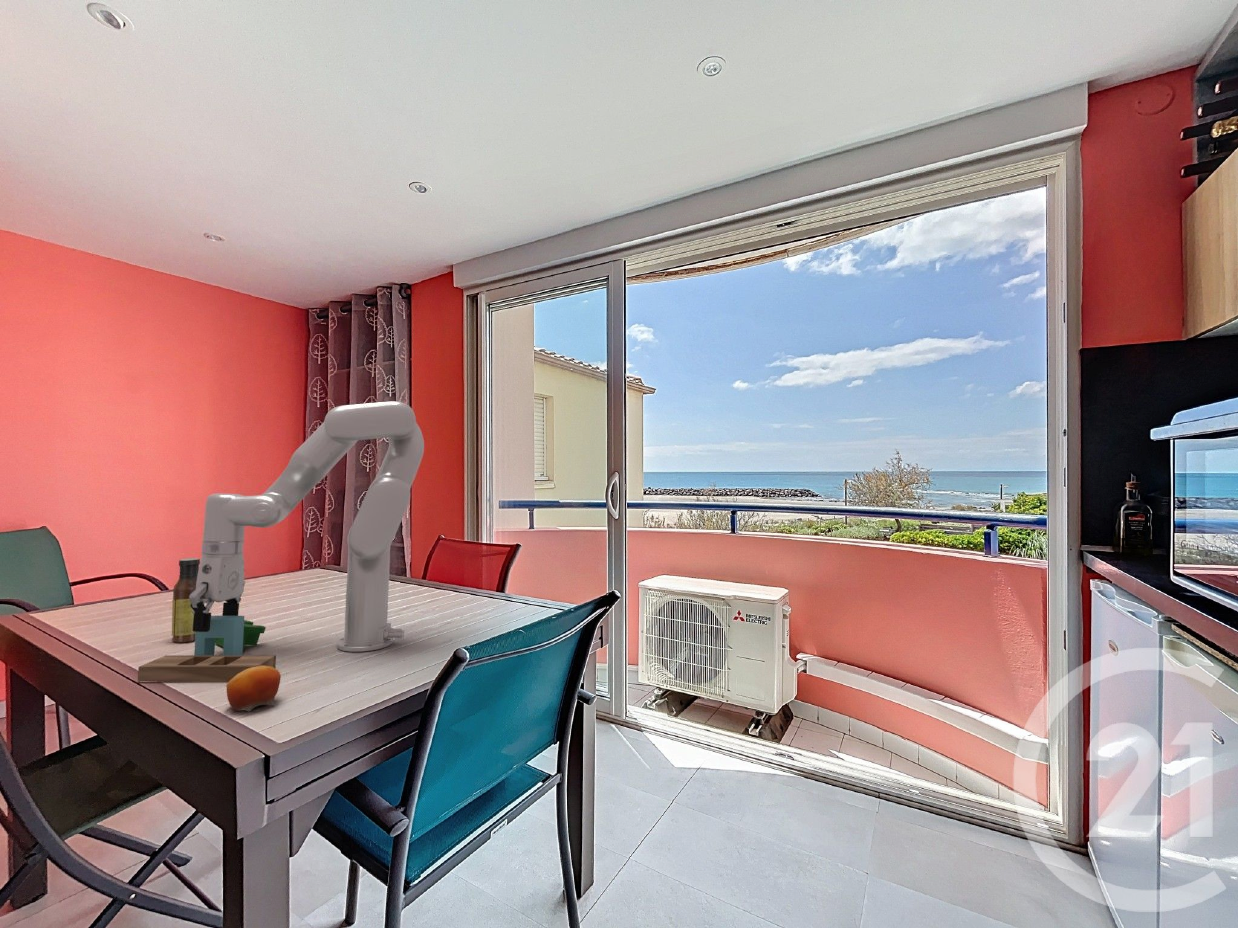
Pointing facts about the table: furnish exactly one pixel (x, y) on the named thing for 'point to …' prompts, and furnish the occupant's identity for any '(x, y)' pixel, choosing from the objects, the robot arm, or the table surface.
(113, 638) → the table surface
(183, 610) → the sauce bottle
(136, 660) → the table surface
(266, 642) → the table surface
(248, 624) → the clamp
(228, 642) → the clip
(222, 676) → the slotted wooden board
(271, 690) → the fruit
